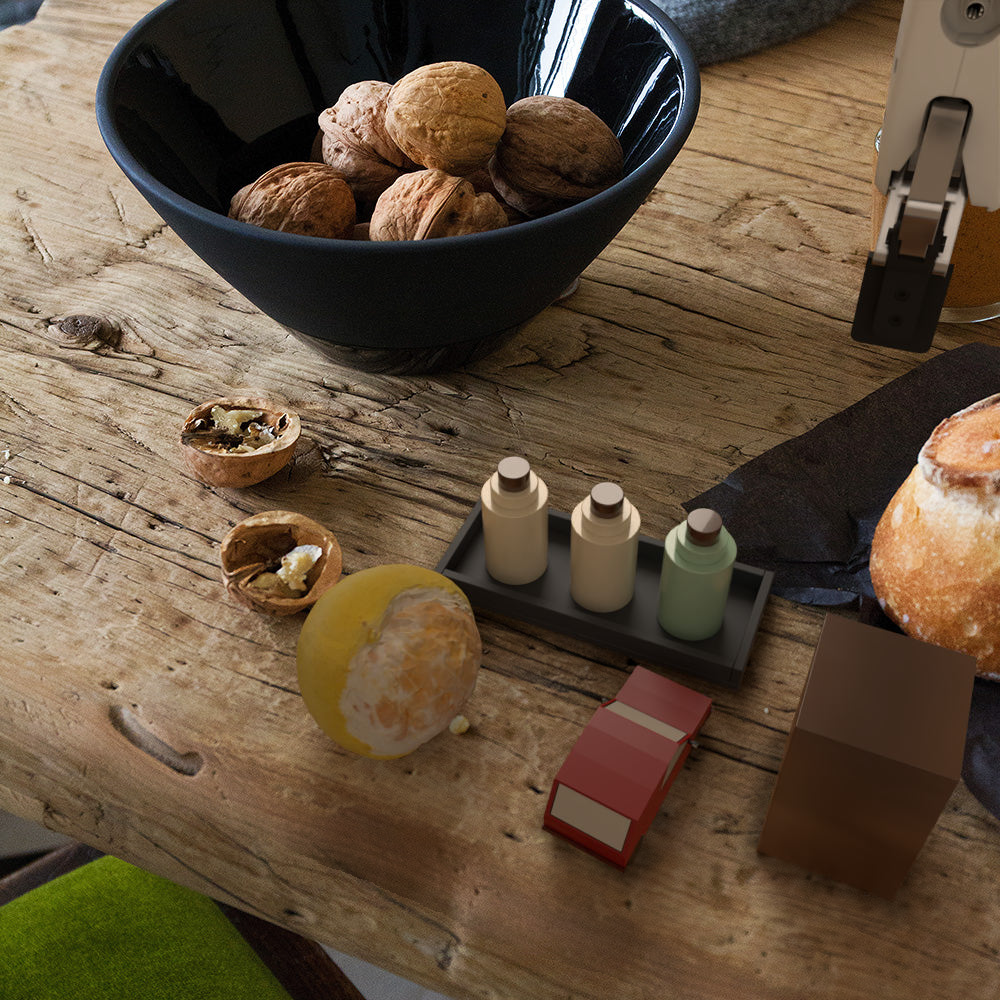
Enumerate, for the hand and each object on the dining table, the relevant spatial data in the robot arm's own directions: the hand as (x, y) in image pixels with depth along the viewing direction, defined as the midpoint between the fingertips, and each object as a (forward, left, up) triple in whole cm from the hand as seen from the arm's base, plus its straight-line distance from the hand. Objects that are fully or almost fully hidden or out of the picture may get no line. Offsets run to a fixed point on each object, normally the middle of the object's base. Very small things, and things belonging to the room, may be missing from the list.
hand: (905, 282), depth 46 cm
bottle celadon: (+7, +2, -25) cm, 26 cm away
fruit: (+21, +15, -26) cm, 36 cm away
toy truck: (+7, +14, -26) cm, 30 cm away
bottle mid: (+13, +2, -25) cm, 28 cm away
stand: (-4, +12, -26) cm, 29 cm away
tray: (+13, +2, -26) cm, 29 cm away
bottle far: (+19, +2, -25) cm, 31 cm away
